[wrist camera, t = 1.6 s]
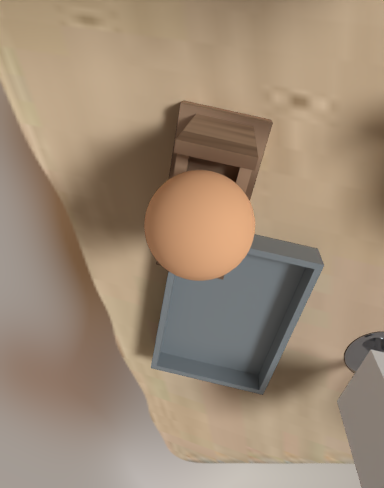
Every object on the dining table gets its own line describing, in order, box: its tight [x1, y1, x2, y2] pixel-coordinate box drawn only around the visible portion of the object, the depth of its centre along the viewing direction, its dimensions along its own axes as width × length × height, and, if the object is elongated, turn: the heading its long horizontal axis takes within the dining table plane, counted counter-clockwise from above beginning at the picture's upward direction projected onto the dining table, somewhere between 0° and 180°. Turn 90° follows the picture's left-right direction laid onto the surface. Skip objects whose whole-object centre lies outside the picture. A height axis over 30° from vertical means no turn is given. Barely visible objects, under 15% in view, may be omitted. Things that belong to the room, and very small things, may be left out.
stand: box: [156, 101, 273, 280], centre depth 24 cm, size 9×7×10 cm
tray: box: [151, 234, 324, 395], centre depth 34 cm, size 18×13×3 cm
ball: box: [144, 170, 255, 281], centre depth 18 cm, size 6×6×6 cm
